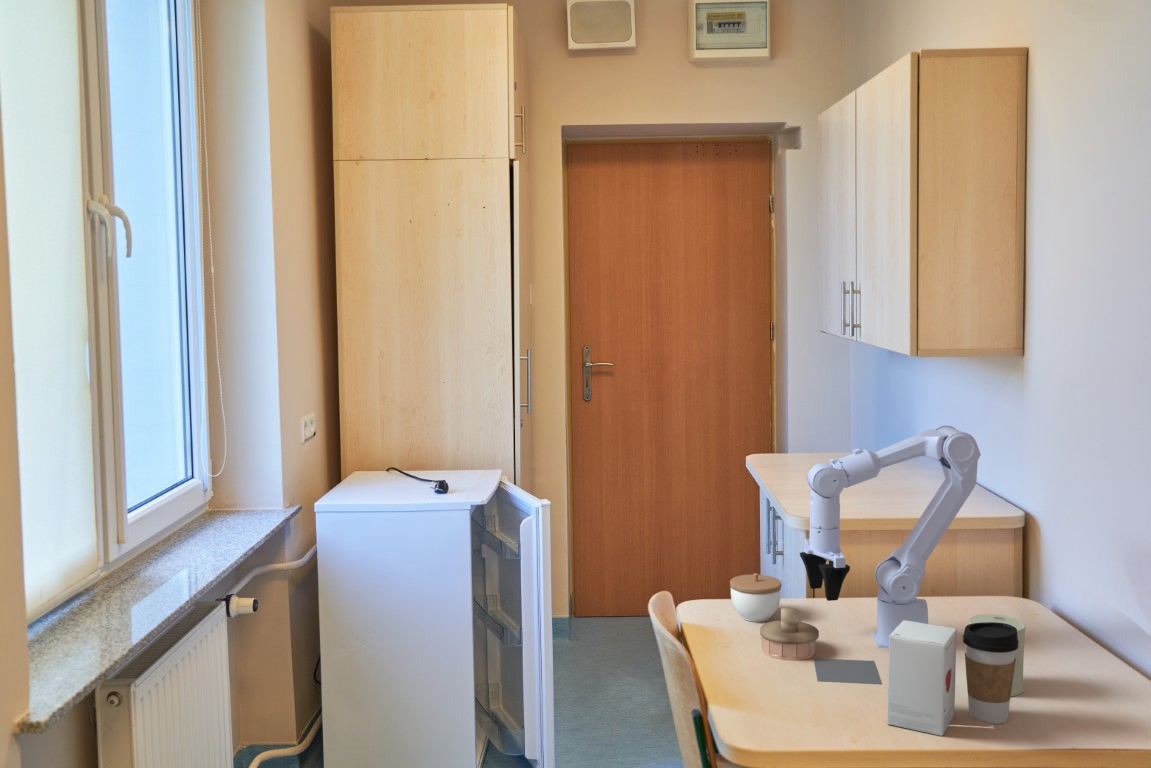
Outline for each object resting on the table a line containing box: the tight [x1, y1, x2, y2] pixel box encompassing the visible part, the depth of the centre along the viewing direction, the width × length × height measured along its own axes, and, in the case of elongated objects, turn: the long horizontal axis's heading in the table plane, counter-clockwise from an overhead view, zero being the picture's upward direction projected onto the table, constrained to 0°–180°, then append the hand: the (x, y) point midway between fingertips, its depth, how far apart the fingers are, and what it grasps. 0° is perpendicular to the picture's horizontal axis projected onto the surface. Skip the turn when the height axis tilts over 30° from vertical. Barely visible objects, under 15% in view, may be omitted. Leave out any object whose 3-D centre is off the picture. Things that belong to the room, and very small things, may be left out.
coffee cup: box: [962, 622, 1019, 725], centre depth 168 cm, size 8×8×15 cm
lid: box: [759, 606, 820, 644], centre depth 198 cm, size 11×11×5 cm
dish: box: [761, 636, 817, 661], centre depth 198 cm, size 10×10×4 cm
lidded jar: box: [729, 572, 782, 623], centre depth 218 cm, size 11×11×9 cm
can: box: [968, 613, 1026, 697], centre depth 180 cm, size 9×9×12 cm
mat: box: [813, 657, 882, 685], centre depth 188 cm, size 11×11×1 cm
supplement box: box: [886, 620, 958, 737], centre depth 167 cm, size 9×9×15 cm
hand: (823, 594), depth 202 cm, fingers open, 7 cm apart
